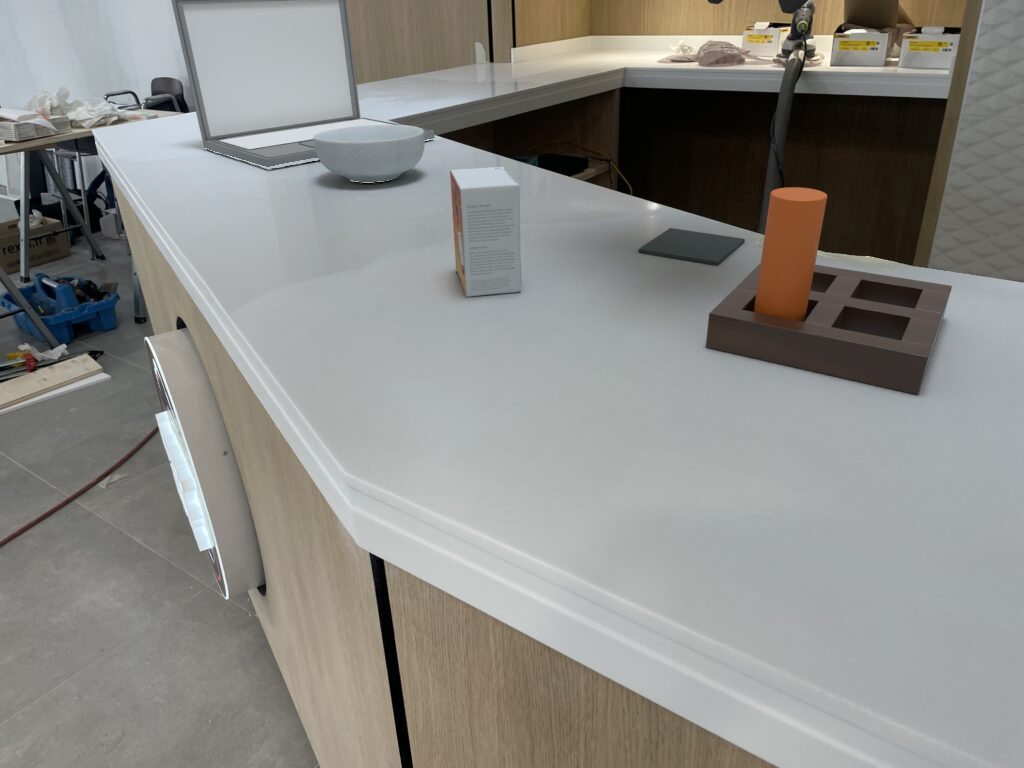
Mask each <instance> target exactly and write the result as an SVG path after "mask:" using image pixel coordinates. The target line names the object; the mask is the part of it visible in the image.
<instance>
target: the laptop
mask: <svg viewBox="0 0 1024 768" xmlns="http://www.w3.org/2000/svg"><path fill="white" fill-rule="evenodd" d="M170 1H171V7H172V10H173V15H174V19H175V23H176V24H175V25H176V28H177V32H178V37H179V42H180V46H181V50H182V54H183V59H184V63H185V69H186V72H187V77H188V83H189V87H190V90H191V91H190V92H191V95H192V100H193V104H194V109H195V113H196V118H197V121H198V122H197V123H198V127H199V132H200V136H201V141H202V145H203V149H204V148H207V149H209V150H212V151H215V152H219V153H222V154H225V155H229V156H232V157H236V158H239V159H242V160H246V161H249V162H252V163H255V164H259V165H262V166H266V167H270V166H275V165H279V164H284V163H289V162H295V161H300V160H306V159H311V158H318V156H317V154H316V150H315V145H314V135H316V134H318V133H321V132H324V131H328V130H333V129H339V128H346V127H354V126H365V125H402V124H400V123H395V122H388V121H383V120H379V119H378V120H377V119H373V118H366V117H361V109H360V101H359V92H358V86H357V85H358V83H357V76H356V75H357V74H356V68H355V60H354V51H353V43H352V42H353V41H352V35H351V25H350V17H349V9H348V2H347V1H348V0H170ZM420 128H421V127H420ZM421 129H423V131H424V138H425V139H424V140H427V139H433V138H436V137H435V130H433V129H428V128H421Z"/></svg>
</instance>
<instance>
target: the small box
mask: <svg viewBox="0 0 1024 768" xmlns="http://www.w3.org/2000/svg"><path fill="white" fill-rule="evenodd" d="M449 176H450V177H449V178H450V193H451V207H452V209H451V210H452V225H453V242H454V243H453V244H454V258H455V259H454V261H455V270H456V272H457V275H458V277H459V279H460V283H461V286H462V288H463V291H464V294H465V297H467V298H468V297H478V296H479V297H480V296H487V295H498V294H510V293H519V292H521V291H522V267H521V266H522V263H521V262H522V261H521V209H520V208H521V198H520V197H521V196H520V195H521V194H520V193H521V191H520V188H521V187H520V185H519V184H518V182H516V180H515V179H513V177H512V176H511V175H510V174H509V172H508V171H507V169H506V167H505V166H494V167H493V166H492V167H476V168H459V169H450V171H449Z"/></svg>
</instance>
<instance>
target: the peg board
mask: <svg viewBox="0 0 1024 768" xmlns="http://www.w3.org/2000/svg"><path fill="white" fill-rule="evenodd" d="M760 264H761V262H760V263H758V265H757V266H756V267H755V268H754V269H753V270H752V271H751V272H750V273H748V274H747V276H745V278H743V280H742V281H741V282H739V283H738V284H737V285H736V287H735V288H733V290H731V291H730V292H729V293H728V294H727V295H726V296H725V298H724V299H723V300H721V301H720V302H719V303H718V305H716V306H715V307H714V308H713V309H712V310H711V311H710V312H709V313H708V321H707V331H706V338H705V339H706V341H705V348H708V349H713V350H717V351H722V352H725V353H731V354H735V355H738V356H743V357H748V358H752V359H757V360H761V361H766V362H770V363H775V364H779V365H783V366H788V367H793V368H797V369H802V370H806V371H810V372H815V373H820V374H823V375H829V376H832V377H837V378H842V379H846V380H851V381H854V382H859V383H862V384H863V383H864V384H868V385H873V386H878V387H883V388H887V389H890V390H895V391H900V392H904V393H909V394H913V395H917V396H918V395H919V394H920V390H921V388H922V384H923V381H924V378H925V375H926V372H927V369H928V367H929V363H930V360H931V357H932V353H933V352H934V348H935V345H936V342H937V339H938V336H939V333H940V330H941V327H942V324H943V320H944V318H945V315H946V310H947V307H948V303H949V299H950V296H951V292H952V289H953V285H949V284H944V283H943V284H942V283H937V282H931V281H930V282H929V281H924V280H917V279H911V278H905V277H898V276H891V275H885V274H879V273H873V272H872V273H871V272H866V271H859V270H852V269H848V268H847V269H846V268H840V267H834V266H826V265H821V264H815V267H814V273H813V279H812V284H811V290H810V295H809V301H808V306H807V312H806V317H805V322H802V321H797V320H792V319H787V318H782V317H777V316H771V315H766V314H761V313H756V312H754V306H755V299H756V292H757V285H758V278H759V271H760Z"/></svg>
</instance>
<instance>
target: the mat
mask: <svg viewBox="0 0 1024 768" xmlns="http://www.w3.org/2000/svg"><path fill="white" fill-rule="evenodd" d="M745 242H746V238H743V237H736V236H729V235H723V234H722V235H721V234H714V233H709V232H701V231H695V230H688V229H681V228H674V227H669V228H668V229H666V230H665V231H664V232H662V233H660V234H659V235H657V236H656V237H654V238H653V239H651V240H650V241H648V242H647V243H645V244H644V245H642V246H641V247H639V248H638V253H640V254H647V255H653V256H658V257H663V258H664V257H665V258H670V259H677V260H683V261H688V262H694V263H701V264H707V265H712V266H719V265H720V264H721V263H722V262H723V261H724V260H726V259H727V258H728V257H729V256H730V255H731V254H733V253H734V252H735V251H736V250H737V249H738V248H740V247H741V245H743V244H744V243H745Z"/></svg>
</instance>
